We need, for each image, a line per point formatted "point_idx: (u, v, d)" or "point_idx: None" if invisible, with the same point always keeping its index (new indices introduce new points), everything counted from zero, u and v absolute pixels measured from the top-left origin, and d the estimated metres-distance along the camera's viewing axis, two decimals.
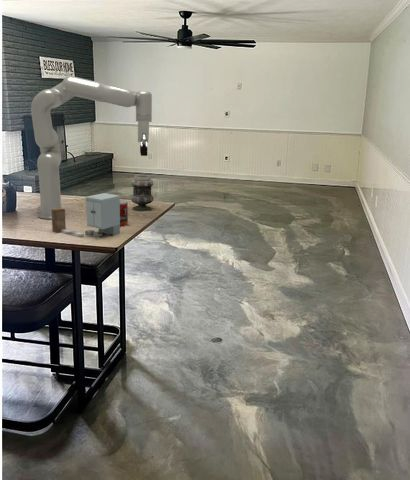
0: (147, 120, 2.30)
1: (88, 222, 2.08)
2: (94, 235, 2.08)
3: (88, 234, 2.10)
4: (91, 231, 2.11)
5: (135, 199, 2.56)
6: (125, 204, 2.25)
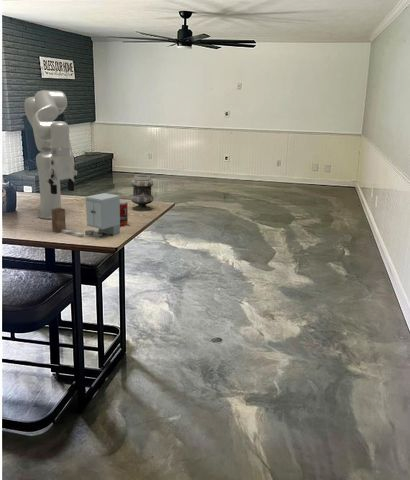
0: None
1: (88, 222, 2.08)
2: (94, 235, 2.08)
3: (88, 234, 2.10)
4: (91, 231, 2.11)
5: (135, 199, 2.56)
6: (125, 204, 2.25)
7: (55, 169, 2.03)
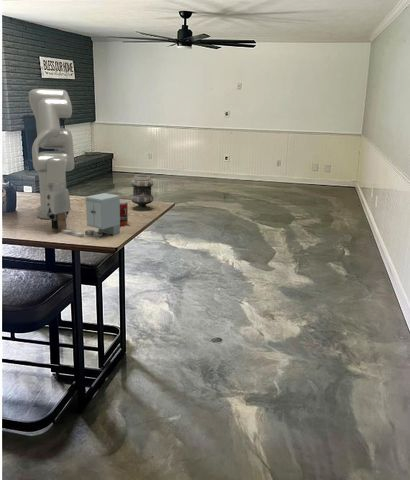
0: None
1: (88, 222, 2.08)
2: (94, 235, 2.08)
3: (88, 234, 2.10)
4: (91, 231, 2.11)
5: (135, 199, 2.56)
6: (125, 204, 2.25)
7: (51, 203, 2.06)
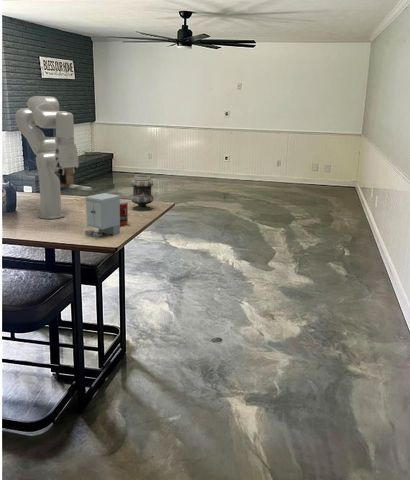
0: None
1: (88, 222, 2.08)
2: (94, 235, 2.08)
3: (88, 234, 2.10)
4: (91, 231, 2.11)
5: (135, 199, 2.56)
6: (125, 204, 2.25)
7: (60, 157, 2.09)
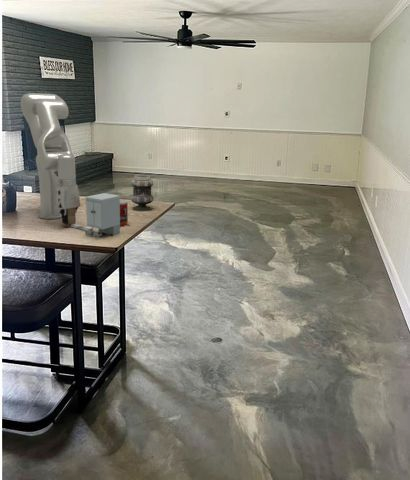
0: None
1: (88, 222, 2.08)
2: (94, 235, 2.08)
3: (88, 234, 2.10)
4: (91, 231, 2.11)
5: (135, 199, 2.56)
6: (125, 204, 2.25)
7: (62, 199, 2.14)
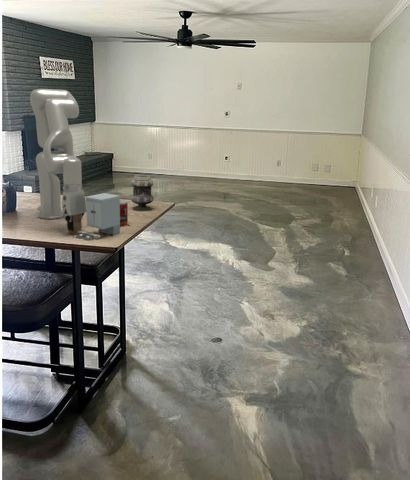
0: None
1: (88, 222, 2.08)
2: (85, 238, 2.03)
3: (79, 237, 2.05)
4: (82, 234, 2.06)
5: (135, 199, 2.56)
6: (125, 204, 2.25)
7: (67, 205, 2.04)
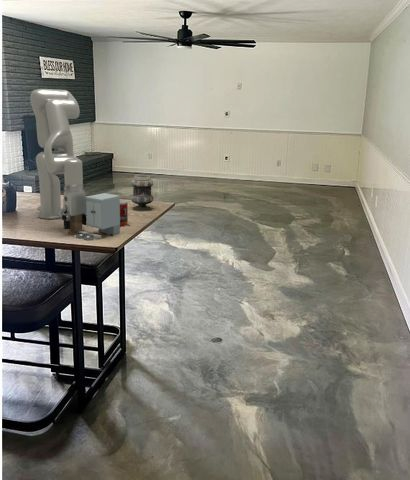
0: None
1: (88, 222, 2.08)
2: (85, 238, 2.03)
3: (79, 237, 2.05)
4: (82, 234, 2.06)
5: (135, 199, 2.56)
6: (125, 204, 2.25)
7: (68, 205, 2.04)
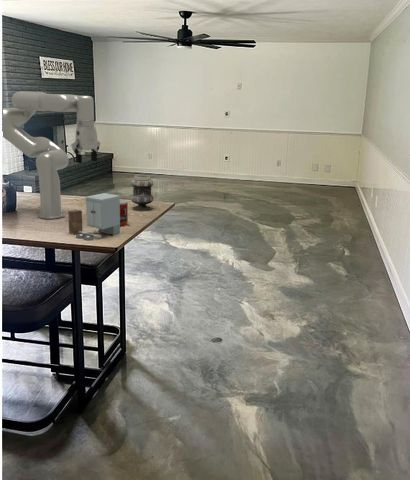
0: None
1: (88, 222, 2.08)
2: (85, 238, 2.03)
3: (79, 237, 2.05)
4: (82, 234, 2.06)
5: (135, 199, 2.56)
6: (125, 204, 2.25)
7: (80, 139, 2.18)
